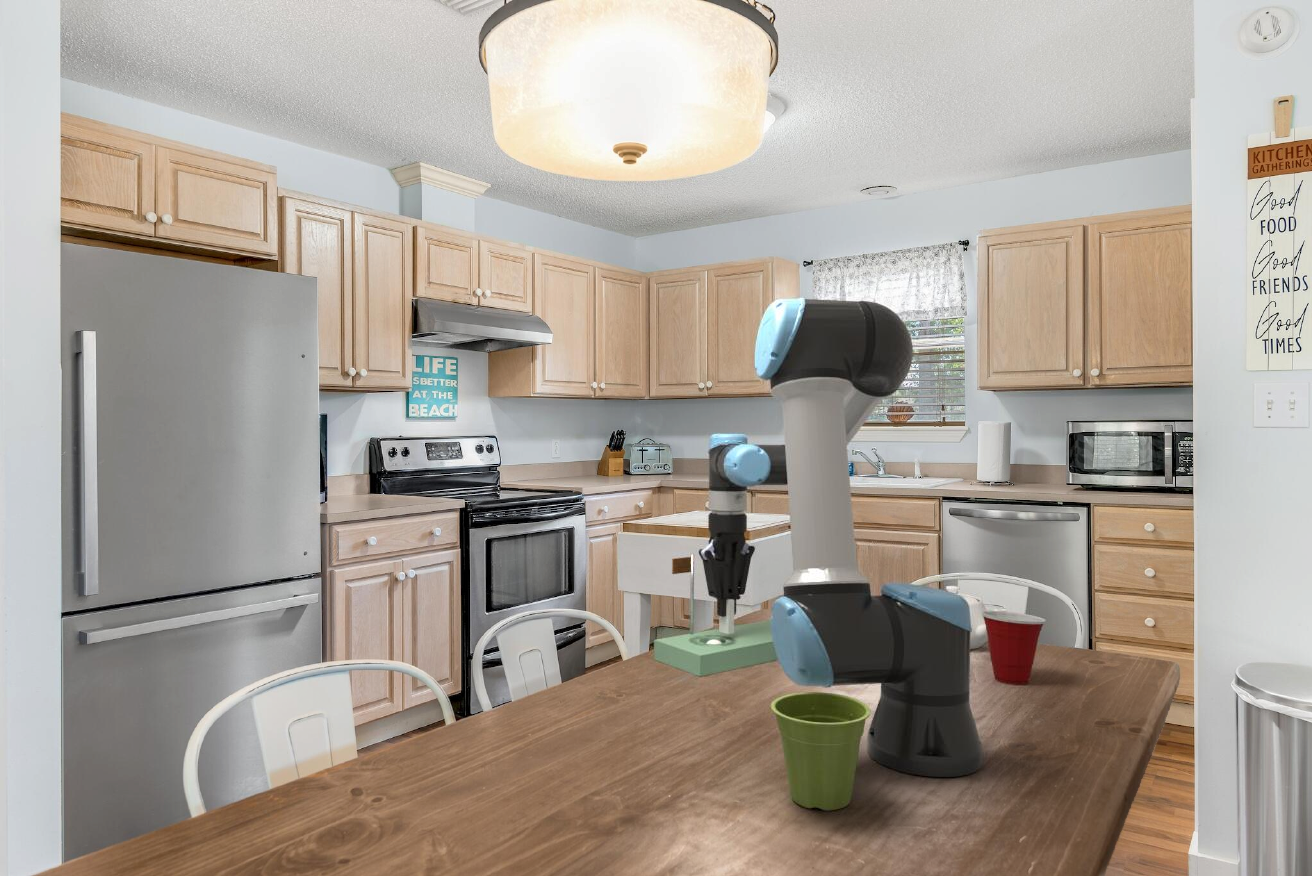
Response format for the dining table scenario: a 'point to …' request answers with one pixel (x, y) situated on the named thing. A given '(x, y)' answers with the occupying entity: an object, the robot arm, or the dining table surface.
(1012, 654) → the plastic cup
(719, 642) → the ball
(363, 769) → the dining table surface
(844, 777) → the plant pot
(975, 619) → the teapot
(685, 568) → the flag
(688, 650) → the putting board
